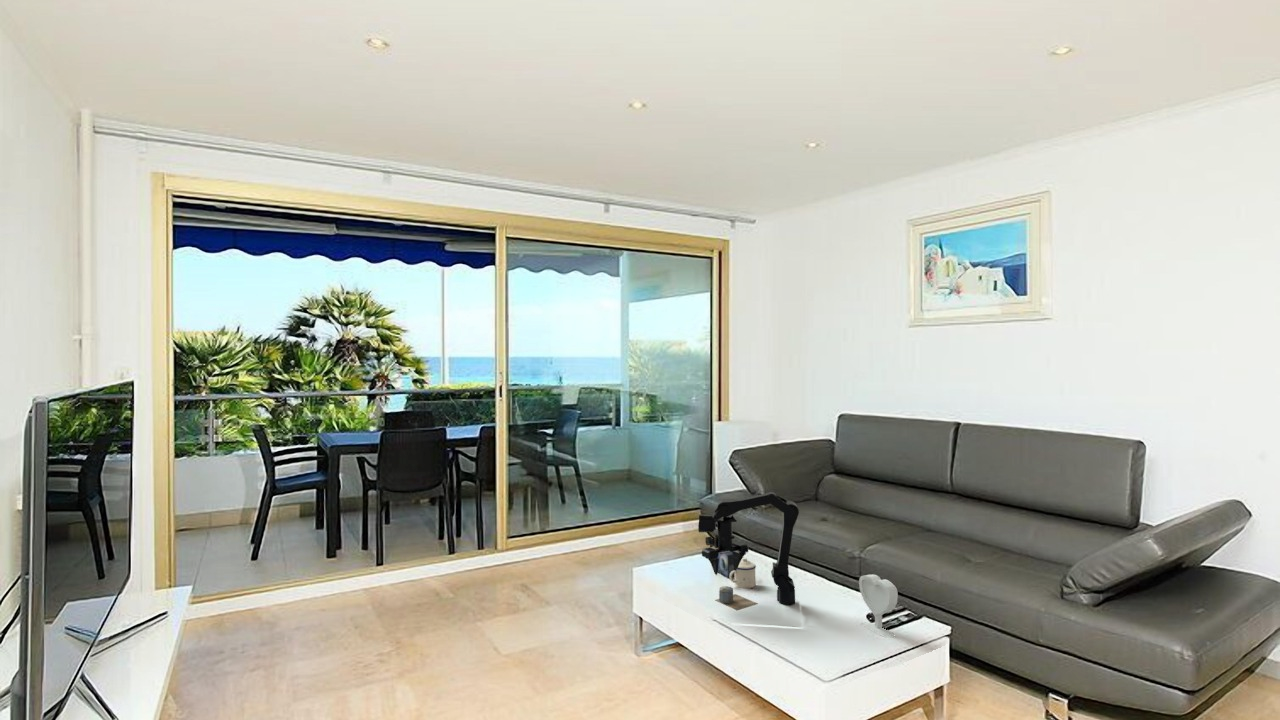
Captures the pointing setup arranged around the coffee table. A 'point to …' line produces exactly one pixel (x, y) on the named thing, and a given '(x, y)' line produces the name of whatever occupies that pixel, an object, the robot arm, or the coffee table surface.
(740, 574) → the teacup with lid
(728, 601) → the knob
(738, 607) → the base plate
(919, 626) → the coffee table surface
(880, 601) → the heart sculpture
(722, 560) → the small box
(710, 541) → the robot arm
